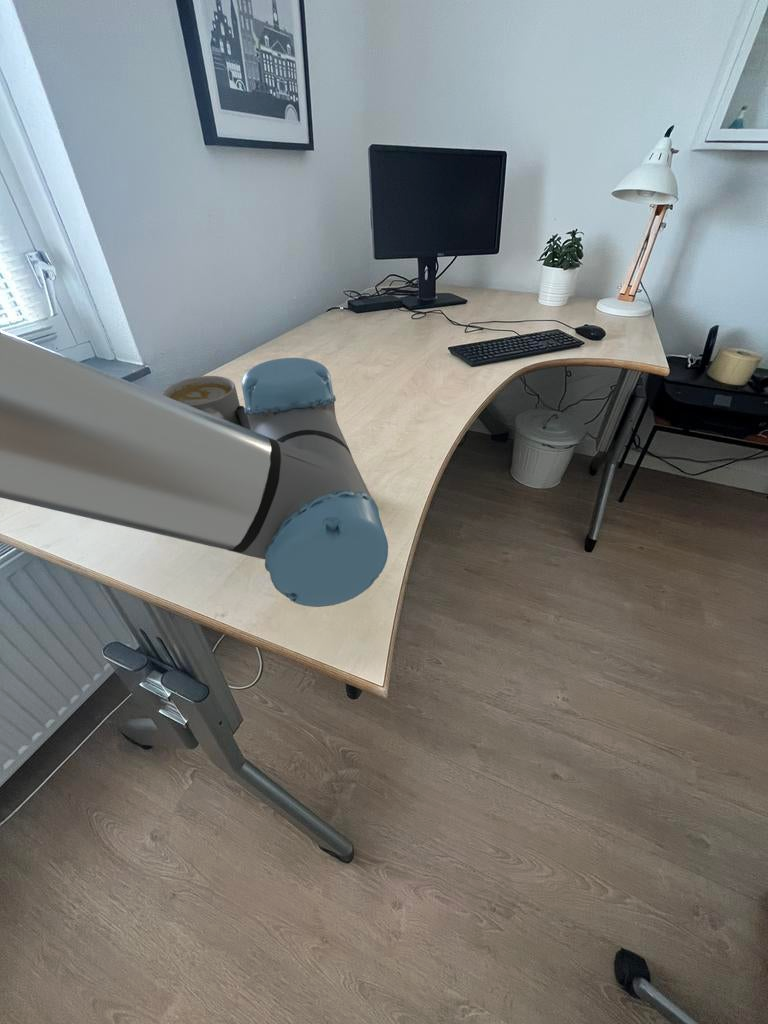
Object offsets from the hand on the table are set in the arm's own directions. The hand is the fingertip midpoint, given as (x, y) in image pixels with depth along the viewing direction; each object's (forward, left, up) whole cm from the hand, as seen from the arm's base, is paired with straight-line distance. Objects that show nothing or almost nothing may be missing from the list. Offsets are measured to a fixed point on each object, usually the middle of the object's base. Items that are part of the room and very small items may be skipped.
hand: (200, 405), depth 66 cm
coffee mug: (+1, -5, -6) cm, 8 cm away
